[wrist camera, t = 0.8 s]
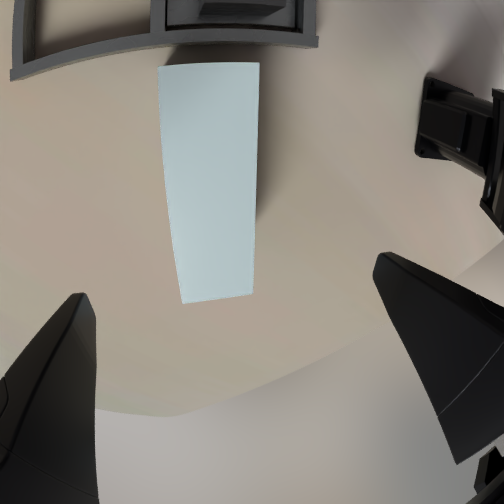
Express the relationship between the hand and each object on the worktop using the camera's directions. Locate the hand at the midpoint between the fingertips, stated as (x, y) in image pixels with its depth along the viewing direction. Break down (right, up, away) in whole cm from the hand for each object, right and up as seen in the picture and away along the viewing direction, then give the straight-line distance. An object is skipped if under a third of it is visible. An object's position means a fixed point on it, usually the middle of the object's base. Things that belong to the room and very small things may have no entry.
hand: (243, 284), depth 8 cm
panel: (-3, +6, +9) cm, 11 cm away
